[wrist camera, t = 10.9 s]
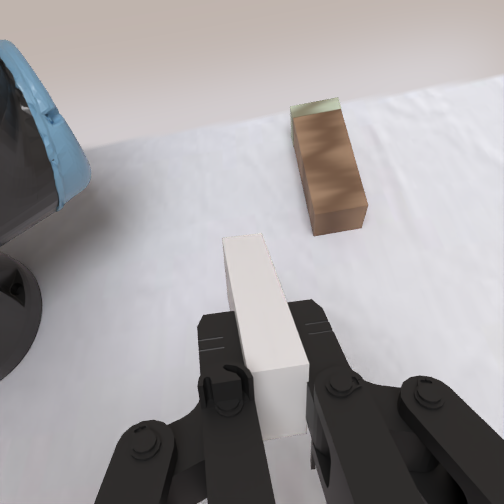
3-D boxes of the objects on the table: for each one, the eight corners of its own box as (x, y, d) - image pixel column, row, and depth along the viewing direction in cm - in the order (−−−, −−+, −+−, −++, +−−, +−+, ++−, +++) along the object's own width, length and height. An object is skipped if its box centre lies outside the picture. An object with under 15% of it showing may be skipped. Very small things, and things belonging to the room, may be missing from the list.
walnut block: (314, 214, 39) (290, 106, 44) (313, 236, 44) (291, 136, 49) (368, 204, 39) (338, 97, 44) (361, 228, 44) (334, 128, 49)
